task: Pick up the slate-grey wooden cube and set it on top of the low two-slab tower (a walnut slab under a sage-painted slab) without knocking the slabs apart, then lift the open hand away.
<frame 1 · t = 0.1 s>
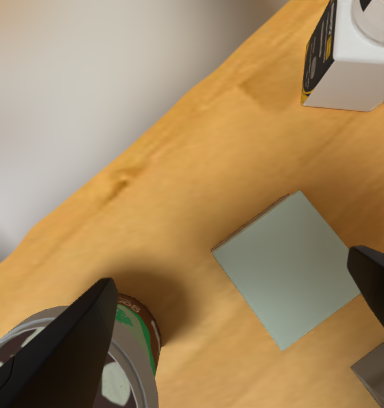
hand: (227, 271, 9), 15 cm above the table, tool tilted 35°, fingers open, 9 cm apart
medicine bottle: (335, 79, 25), on the table
sage slab: (281, 263, 21), point 2 cm above the table, touching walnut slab
food container: (117, 312, 24), on the table
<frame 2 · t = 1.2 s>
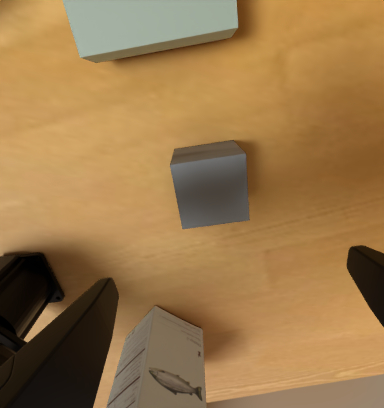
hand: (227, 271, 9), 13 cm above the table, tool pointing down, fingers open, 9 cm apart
grey cube: (207, 172, 21), on the table
supplement box: (163, 330, 30), on the table
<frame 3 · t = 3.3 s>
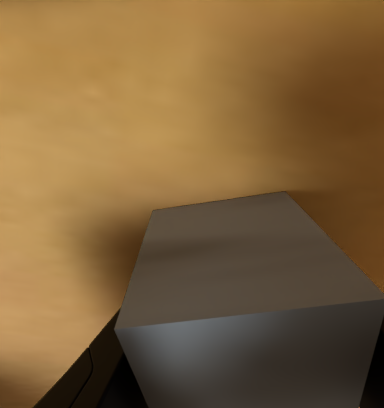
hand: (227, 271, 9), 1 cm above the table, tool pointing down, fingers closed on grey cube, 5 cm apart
grey cube: (224, 254, 10), on the table, touching gripper
when the fingers open (7 cm above the table, at t = 8.1 s): grey cube drops 2 cm, point 4 cm above the table.
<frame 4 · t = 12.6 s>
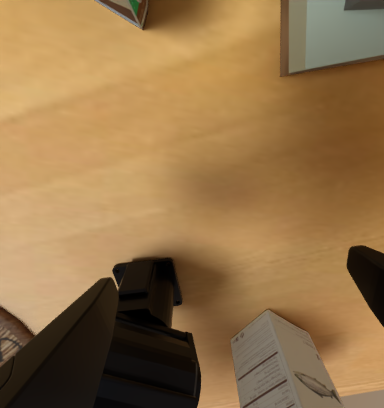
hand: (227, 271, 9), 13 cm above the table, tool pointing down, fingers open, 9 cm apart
supplement box: (267, 333, 30), on the table
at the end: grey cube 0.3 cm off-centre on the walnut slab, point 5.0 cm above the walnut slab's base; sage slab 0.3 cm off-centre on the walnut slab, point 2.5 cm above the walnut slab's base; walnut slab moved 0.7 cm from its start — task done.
